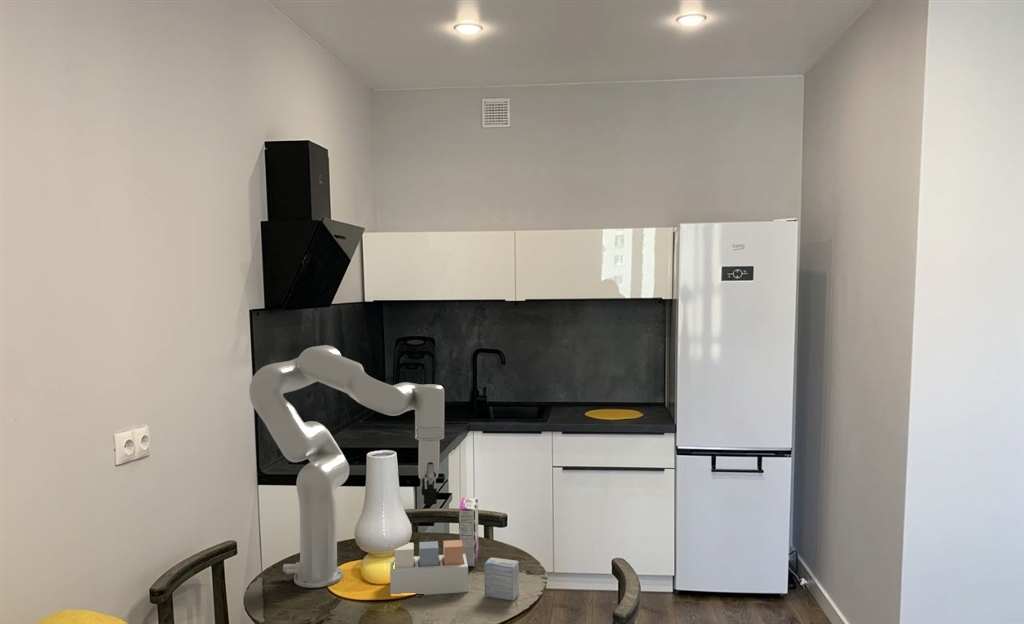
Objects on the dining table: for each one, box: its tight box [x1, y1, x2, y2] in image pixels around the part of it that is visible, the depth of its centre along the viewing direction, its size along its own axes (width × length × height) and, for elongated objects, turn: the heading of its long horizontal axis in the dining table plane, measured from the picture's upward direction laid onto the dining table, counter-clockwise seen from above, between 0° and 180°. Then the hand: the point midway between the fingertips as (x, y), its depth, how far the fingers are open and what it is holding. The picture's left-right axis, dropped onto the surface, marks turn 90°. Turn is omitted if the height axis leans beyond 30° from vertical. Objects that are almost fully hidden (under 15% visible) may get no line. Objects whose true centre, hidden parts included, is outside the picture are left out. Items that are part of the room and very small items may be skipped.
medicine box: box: [483, 556, 520, 602], centre depth 167 cm, size 8×4×9 cm, turn 71°
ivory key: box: [394, 542, 415, 568], centre depth 171 cm, size 5×5×6 cm
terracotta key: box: [442, 539, 463, 565], centre depth 173 cm, size 5×5×6 cm
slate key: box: [418, 540, 440, 567], centre depth 172 cm, size 5×5×6 cm
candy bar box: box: [458, 497, 480, 568], centre depth 191 cm, size 11×5×16 cm, turn 179°
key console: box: [389, 554, 469, 596], centre depth 172 cm, size 20×9×6 cm, turn 99°
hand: (429, 498), depth 172 cm, fingers open, 8 cm apart
